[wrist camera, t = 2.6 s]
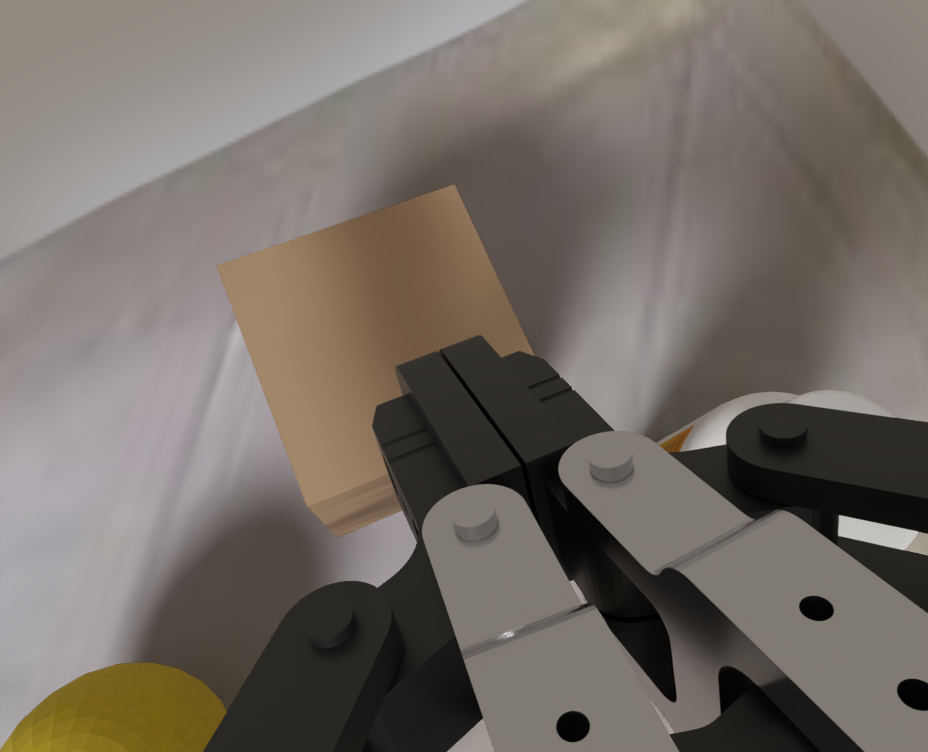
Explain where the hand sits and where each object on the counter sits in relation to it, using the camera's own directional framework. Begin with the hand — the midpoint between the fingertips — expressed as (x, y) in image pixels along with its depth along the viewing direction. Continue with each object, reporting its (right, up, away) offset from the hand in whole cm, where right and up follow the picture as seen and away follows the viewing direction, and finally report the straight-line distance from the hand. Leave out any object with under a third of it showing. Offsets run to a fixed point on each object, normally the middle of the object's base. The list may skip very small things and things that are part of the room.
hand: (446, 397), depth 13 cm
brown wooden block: (-2, -1, +13) cm, 14 cm away
